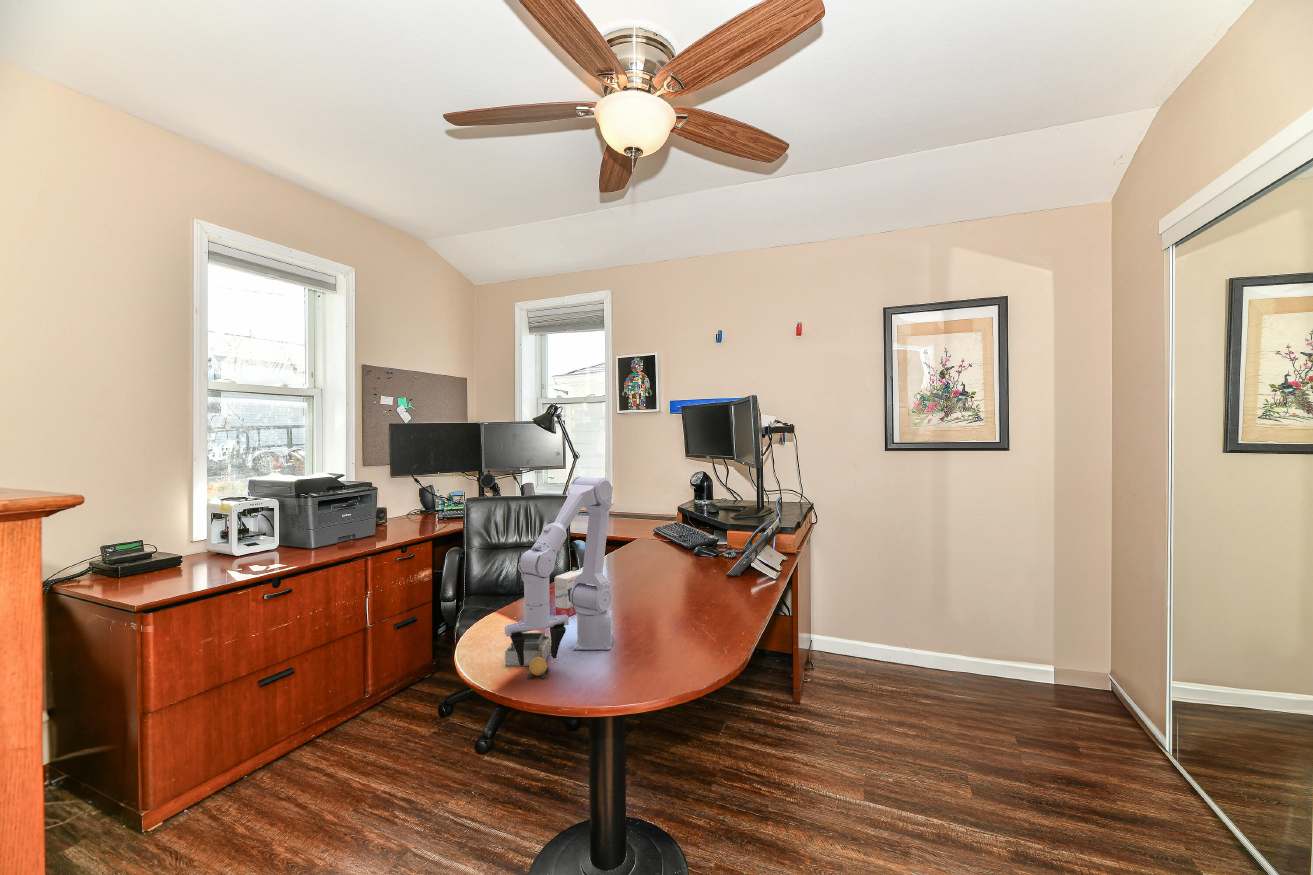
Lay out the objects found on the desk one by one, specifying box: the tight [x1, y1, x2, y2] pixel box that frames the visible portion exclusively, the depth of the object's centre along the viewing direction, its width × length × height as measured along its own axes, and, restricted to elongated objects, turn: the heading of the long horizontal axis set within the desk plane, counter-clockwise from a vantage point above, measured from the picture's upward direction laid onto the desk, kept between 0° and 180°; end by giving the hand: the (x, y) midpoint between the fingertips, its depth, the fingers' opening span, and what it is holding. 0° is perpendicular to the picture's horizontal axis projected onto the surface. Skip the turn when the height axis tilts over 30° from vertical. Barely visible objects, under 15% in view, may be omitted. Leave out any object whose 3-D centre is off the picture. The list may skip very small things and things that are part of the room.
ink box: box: [554, 570, 583, 618], centre depth 164 cm, size 9×5×12 cm, turn 150°
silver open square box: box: [504, 632, 551, 667], centre depth 132 cm, size 9×9×5 cm
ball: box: [528, 657, 548, 676], centre depth 123 cm, size 4×4×4 cm
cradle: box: [526, 666, 550, 680], centre depth 123 cm, size 4×4×1 cm
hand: (537, 660), depth 123 cm, fingers open, 7 cm apart
